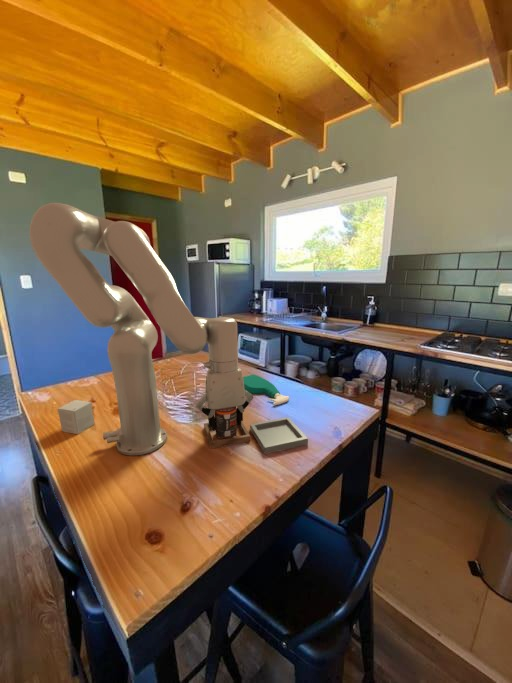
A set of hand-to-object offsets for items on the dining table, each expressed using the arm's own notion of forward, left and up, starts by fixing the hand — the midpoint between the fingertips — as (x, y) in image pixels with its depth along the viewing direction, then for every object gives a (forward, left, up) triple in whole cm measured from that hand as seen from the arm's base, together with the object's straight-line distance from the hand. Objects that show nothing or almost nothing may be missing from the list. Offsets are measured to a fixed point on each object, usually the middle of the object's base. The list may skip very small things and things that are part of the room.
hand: (226, 425), depth 80 cm
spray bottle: (+20, +24, -3) cm, 31 cm away
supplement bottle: (0, 0, -3) cm, 3 cm away
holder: (0, 0, -3) cm, 3 cm away
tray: (+13, -6, -3) cm, 15 cm away
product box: (-40, +18, -3) cm, 44 cm away
